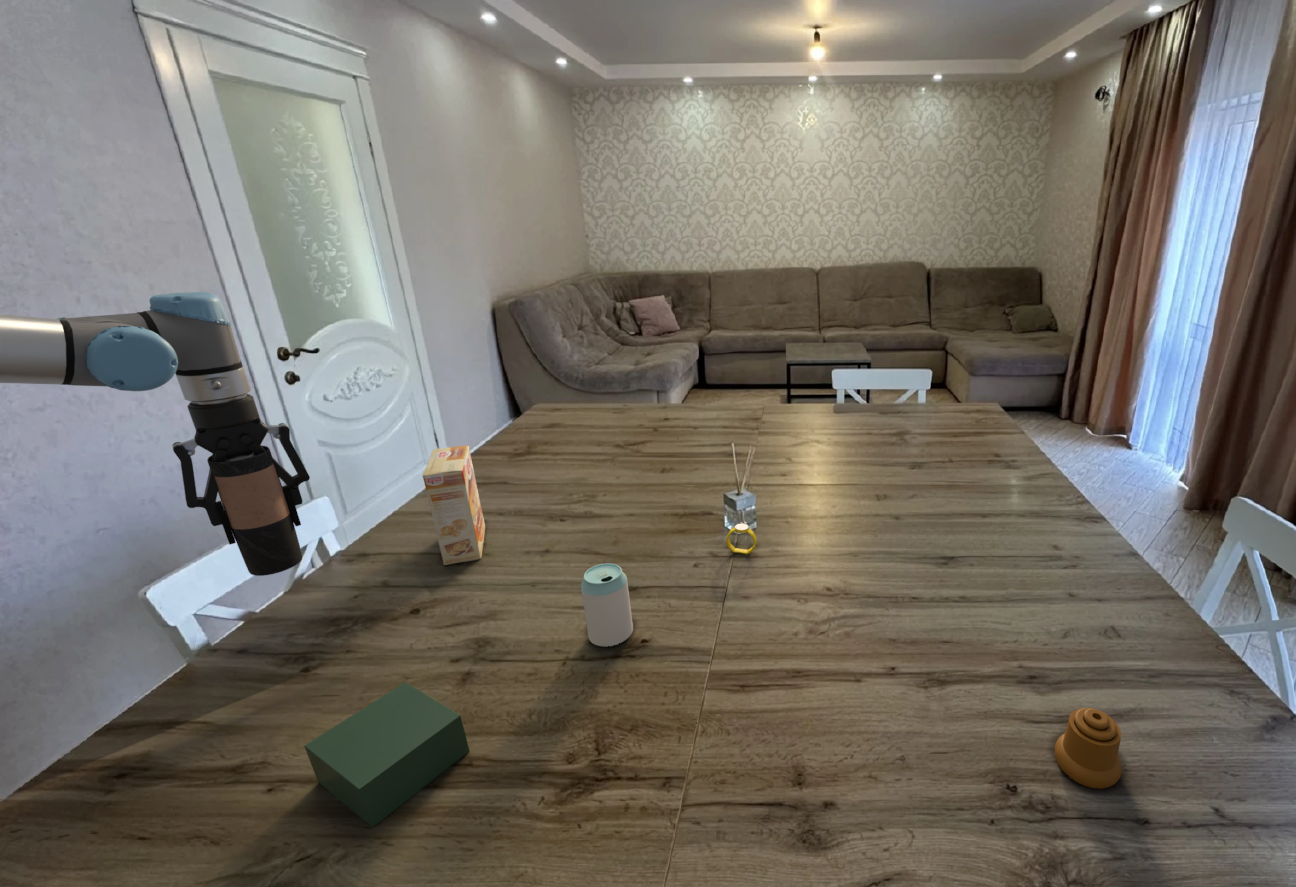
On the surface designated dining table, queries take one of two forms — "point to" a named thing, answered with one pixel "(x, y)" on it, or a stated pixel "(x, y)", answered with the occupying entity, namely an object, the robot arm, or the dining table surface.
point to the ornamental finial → (1090, 749)
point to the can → (606, 605)
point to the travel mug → (257, 512)
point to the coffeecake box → (455, 504)
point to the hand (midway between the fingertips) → (265, 531)
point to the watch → (741, 529)
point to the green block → (387, 752)
